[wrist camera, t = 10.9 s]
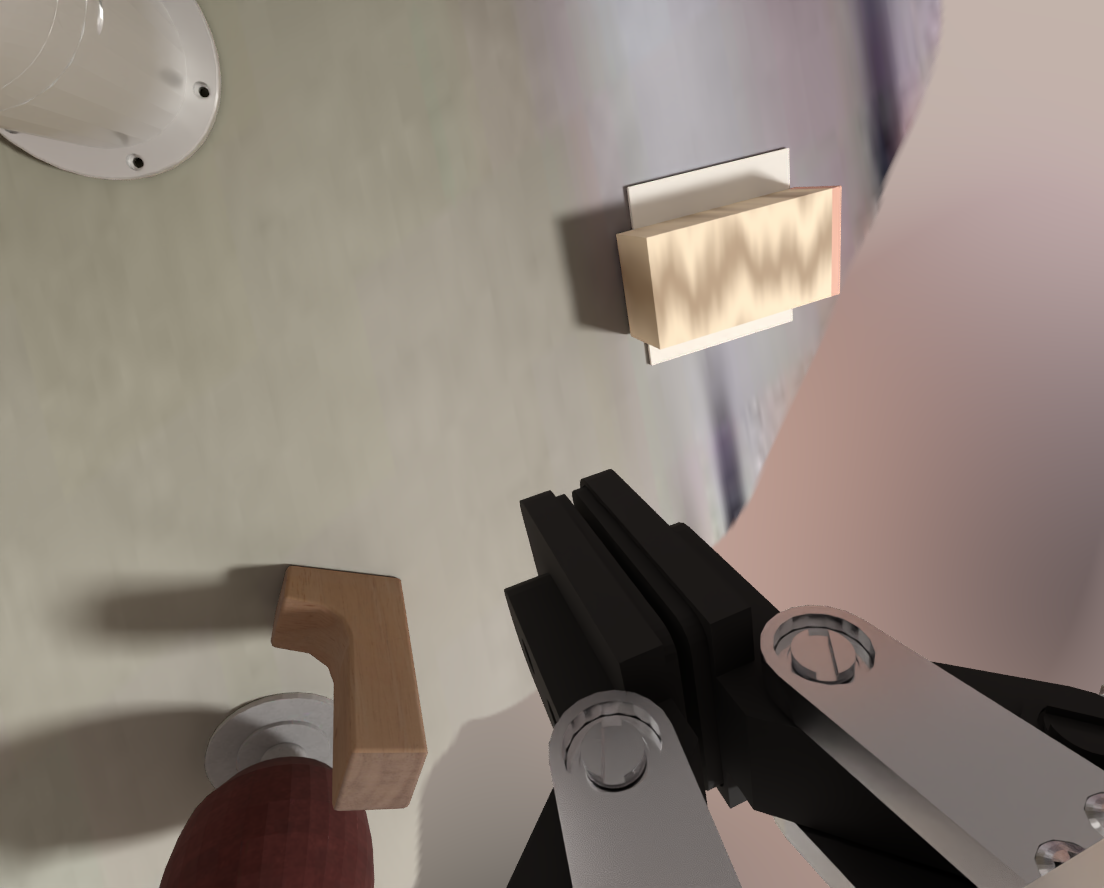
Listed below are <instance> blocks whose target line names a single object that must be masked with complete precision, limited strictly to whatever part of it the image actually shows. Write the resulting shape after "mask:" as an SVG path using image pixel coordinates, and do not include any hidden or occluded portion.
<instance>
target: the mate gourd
mask: <svg viewBox="0 0 1104 888" xmlns="http://www.w3.org/2000/svg"><path fill="white" fill-rule="evenodd" d="M333 710H334V701H333V700H331V699H329V698H327V697H323V696H320V695H316V694H310V693H282V694H277V695H272V696H267V697H265V698H262V699H259V700H256V701H253V702H251V703H249V704H247V705H245V706H243V707H241V708H239V709H238V710H237V711H235V712H234V713H232V714H231V715H230V716H228V717H227V718H226V719H225V720H224V721H223V722H222V723H221V724H220V725H219V726H218V727H217V729H216V730H215V732H214V734H213V735H212V737H211V738H210V741H209V744H208V747H207V750H206V755H205V770H206V774H207V777H208V779H209V780H210V782H211V784H212V785H213V787H215V788H216V790H215V791H213V792H212V793H211V794H209V795H208V796H207V797H206V798H205V799H204V800H203V801H202V802H201V803H200V804H199V805H198V806H197V807H196V809H195V810H194V812H193V813H192V815H191V817H190V818H189V820H188V821H187V823H186V825H185V827H184V829H183V830H182V832H181V834H180V836H179V838H178V840H177V842H176V845H175V847H174V849H173V852H172V854H171V856H170V859H169V861H168V863H167V866H166V868H165V871H164V874H163V877H162V880H161V883H160V887H159V888H374V864H373V847H372V839H371V833H370V829H369V824H368V819H367V815H366V811H365V810H351V811H337V810H334V808H333V804H332V776H333Z"/></svg>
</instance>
